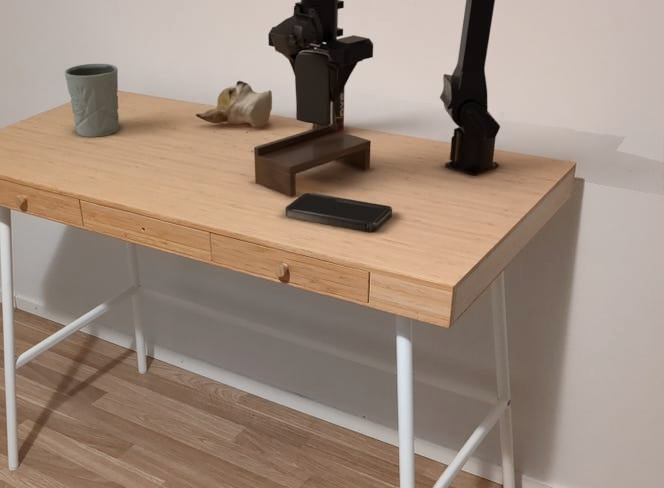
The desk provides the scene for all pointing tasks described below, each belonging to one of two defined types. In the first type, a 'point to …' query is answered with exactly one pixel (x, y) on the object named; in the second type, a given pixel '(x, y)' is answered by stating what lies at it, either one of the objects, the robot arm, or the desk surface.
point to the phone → (339, 212)
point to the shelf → (307, 156)
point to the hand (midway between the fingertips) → (318, 97)
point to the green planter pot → (94, 98)
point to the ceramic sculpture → (240, 106)
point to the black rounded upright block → (313, 88)
